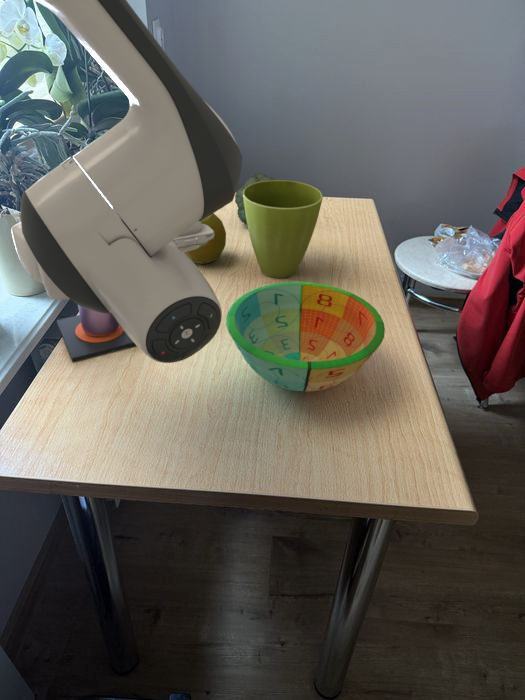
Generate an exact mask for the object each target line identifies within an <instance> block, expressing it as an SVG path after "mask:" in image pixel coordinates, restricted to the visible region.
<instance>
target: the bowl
mask: <svg viewBox="0 0 525 700" xmlns="http://www.w3.org/2000/svg"><path fill="white" fill-rule="evenodd" d="M225 320H226V321H225V325H226V329H227V331H228V334H229V336H230V337H231V339H232V340H233V342H234V344H235V346H236V348H237V350H239V352H240V354H241V355H242V357H243V359H244V360H245V362H246V363H247V364H248V365H249V366H250V368H251V369H252V370H253V371H254V372H255V373H256V374H257V375H259V376H260V377H261V378H263V379H264V380H265V381H266V382H269V383H271V384H272V385H274V386H277V387H279V388H282V389H286V390H288V391H289V390H290V391H294V392H317V391H323V390H326V389H331V388H332V387H335V386H337V385H339V384H341V383H342V382H344V381H346V380H348V379H349V378H351V377H352V376H353V375H354V374H356V372H358V371H359V370H360V369H361V368H362V366H363V365H364V363H366V361H368V360H369V359H370V358H371V356H372V355H373V354H374V353H375V352H376V351H377V350H378V348H379V347H380V346H381V345H382V343H383V340H384V338H385V333H386V328H385V322H384V320H383V318H382V315H381V314H380V313H379V312H378V310H377V309H376V308H375V307H374V306H373V305H372V304H371V303H369V302H368V301H367V300H365V299H364V298H362V297H360V296H358V295H356V294H354V293H352V292H351V291H348V290H345V289H343V288H340V287H336V286H333V285H329V284H324V283H317V282H310V281H309V282H307V281H286V282H277V283H271V284H266V285H262V286H259V287H257V288H253V289H251V290H250V291H247V292H246V293H244V294H242V295H241V296H240V297H238V298H237V299H235V301H234V302H233V303H232V304H231V305H230V307H229V309H228V310H227V313H226V317H225Z"/></svg>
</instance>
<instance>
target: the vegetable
mask: <svg viewBox="0 0 525 700" xmlns="http://www.w3.org/2000/svg"><path fill="white" fill-rule="evenodd" d="M270 180H279V179H278V178H273V177H269V176H267V175H266V174H264V173H259V172H258V173H256V174H254V175H252V176H249V177H248V179H247V180H245V181H244V183H243V184H242V187H240V188H238V189H236V193H235V196H234V202H235V204H236V206H237V217H238V220H239V221H241V223H243V224H244V225H245V226H248V225H247V220H246V214H245V207H244V199H243V191H244V189H245V188H246V187H248V186H249V185H251V184H254V183H257V182H262V181H270Z"/></svg>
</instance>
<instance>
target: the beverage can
mask: <svg viewBox="0 0 525 700" xmlns="http://www.w3.org/2000/svg"><path fill="white" fill-rule="evenodd" d="M77 308H78V313H79V314H78V315H80V319H81V324H82V328H83V330H84V331H85V332H86V333H87V334H88V335H91V336H94V337H103V336H108V335H110V334H112V333H114V332H115V331H116V330H117V329H118V327H119V323H118V322H117V320H116V319H115V317H114V316H113V314H112V313H110V314H105V313H99V312H96V311H93V310H90V309H87V308H84V307H81V306H79V305H78V304H77Z"/></svg>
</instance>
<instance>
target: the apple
mask: <svg viewBox="0 0 525 700" xmlns="http://www.w3.org/2000/svg"><path fill="white" fill-rule="evenodd" d="M223 223H224V222H223V221H222V220H221V218H219V217H218V215H216V214H215V212H214V213H213V214H211V215H210V216H208V217H206V218H205V219H203V220H202V221H201V224H205V225H207V226H209V227H210V228H211V229H212V230H213V231H214V234H215V236H214V239H212V240H209V241H208V243H207V244H206V245H203V246H200V247H199V248H197V249H195V250H191V251H187V252H184V253H185V254H186V255H187V256H188V257H189V258H190V259H191V260H192V261H193V263H197V264H210V263H211V262H214V261H215V260H218V259H219V258H220V256H221V255H222V253H223V251H224V249H225V247H226V245H227V243H226V242H227V230H226V229H225V225H224V224H223Z"/></svg>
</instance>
